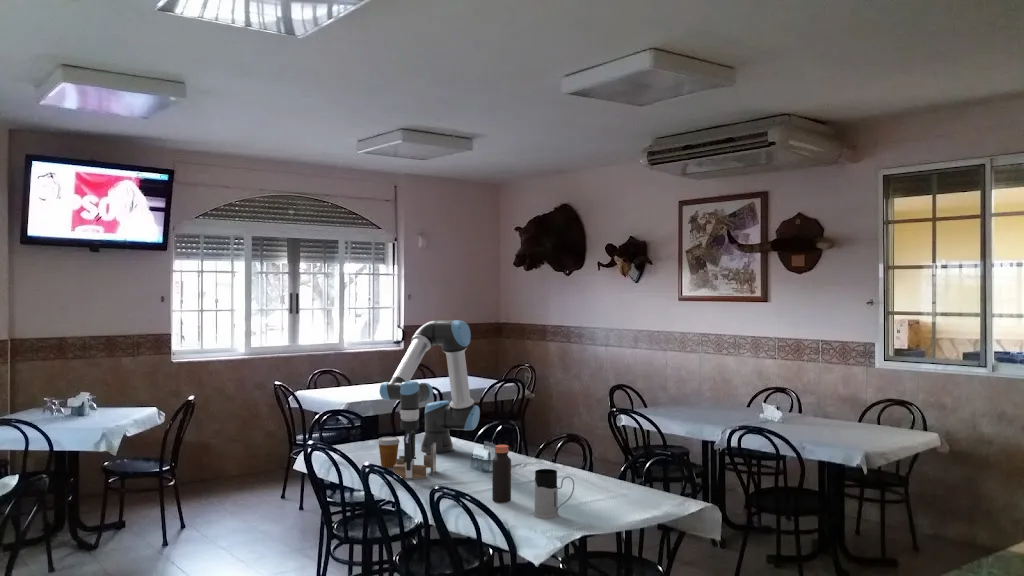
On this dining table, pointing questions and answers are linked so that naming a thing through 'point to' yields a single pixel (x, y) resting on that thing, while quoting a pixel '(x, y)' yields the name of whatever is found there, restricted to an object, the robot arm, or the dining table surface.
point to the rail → (417, 471)
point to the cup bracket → (431, 459)
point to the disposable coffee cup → (388, 451)
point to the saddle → (400, 461)
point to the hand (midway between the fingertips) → (409, 476)
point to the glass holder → (547, 494)
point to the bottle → (501, 475)
